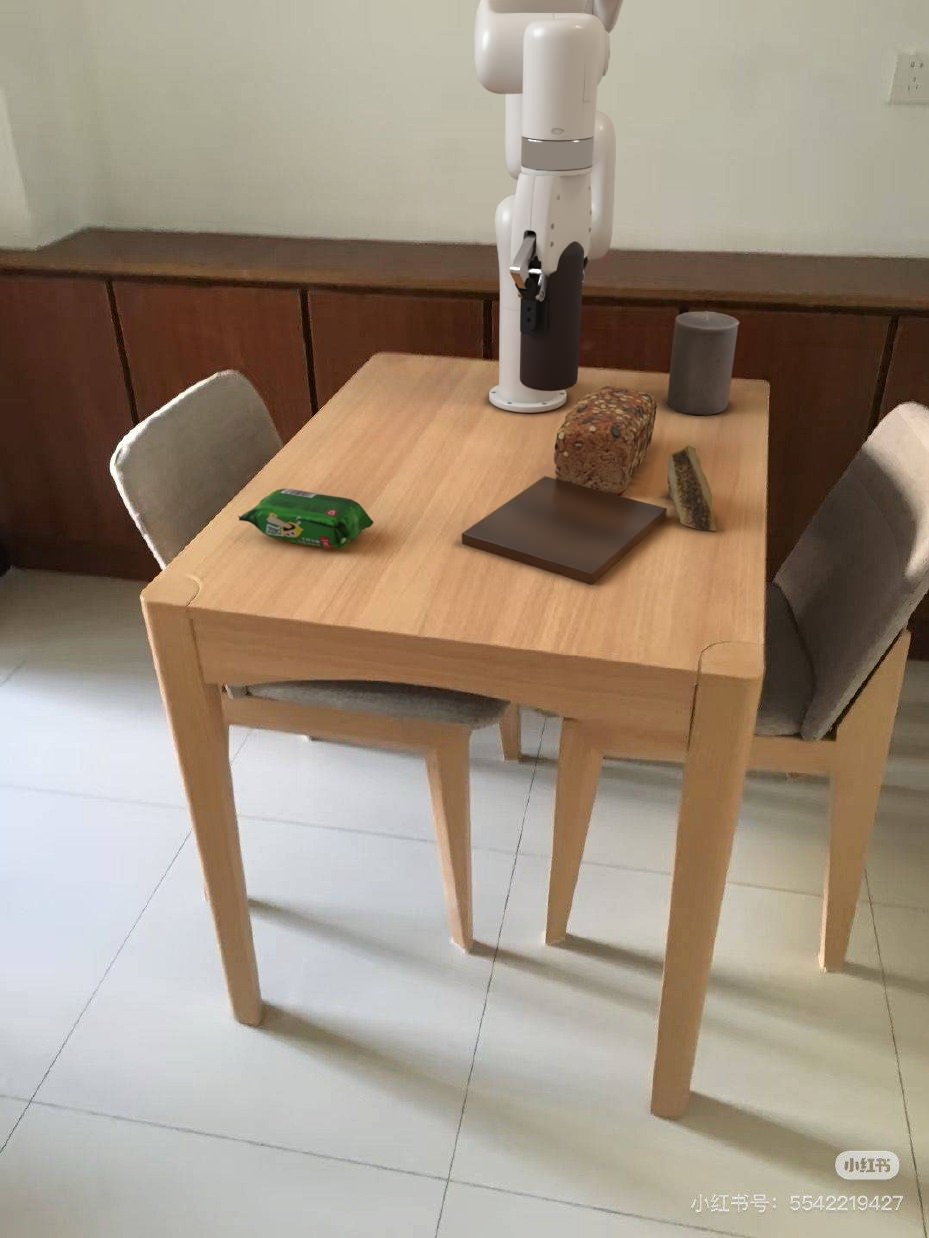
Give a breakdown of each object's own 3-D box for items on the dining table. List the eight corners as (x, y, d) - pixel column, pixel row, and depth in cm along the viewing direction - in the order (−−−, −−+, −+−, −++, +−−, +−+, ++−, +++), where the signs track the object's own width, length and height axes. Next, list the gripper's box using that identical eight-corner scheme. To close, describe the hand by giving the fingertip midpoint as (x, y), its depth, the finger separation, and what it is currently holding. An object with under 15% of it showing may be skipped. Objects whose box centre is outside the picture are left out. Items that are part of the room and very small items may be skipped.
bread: (625, 499, 135) (631, 428, 130) (548, 488, 139) (551, 418, 133) (655, 447, 150) (662, 381, 145) (585, 438, 153) (589, 373, 148)
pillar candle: (664, 413, 162) (674, 318, 154) (668, 392, 170) (677, 301, 162) (727, 418, 160) (740, 322, 152) (728, 396, 168) (740, 304, 160)
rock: (652, 471, 137) (632, 491, 129) (697, 426, 133) (680, 444, 124) (708, 528, 137) (692, 552, 129) (756, 486, 133) (743, 507, 124)
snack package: (267, 515, 132) (262, 478, 130) (377, 533, 128) (374, 495, 125) (238, 540, 127) (232, 502, 124) (352, 560, 122) (349, 521, 119)
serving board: (544, 485, 139) (544, 475, 138) (666, 518, 131) (667, 508, 130) (461, 543, 125) (461, 533, 125) (591, 585, 117) (592, 573, 116)
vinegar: (574, 372, 123) (583, 194, 112) (580, 392, 117) (590, 206, 106) (517, 373, 123) (521, 195, 112) (521, 393, 117) (525, 207, 106)
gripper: (567, 142, 114) (560, 303, 124) (481, 164, 102) (480, 340, 112) (627, 148, 111) (615, 313, 120) (545, 170, 99) (539, 352, 108)
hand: (550, 325), depth 116 cm, fingers closed on vinegar, 6 cm apart
